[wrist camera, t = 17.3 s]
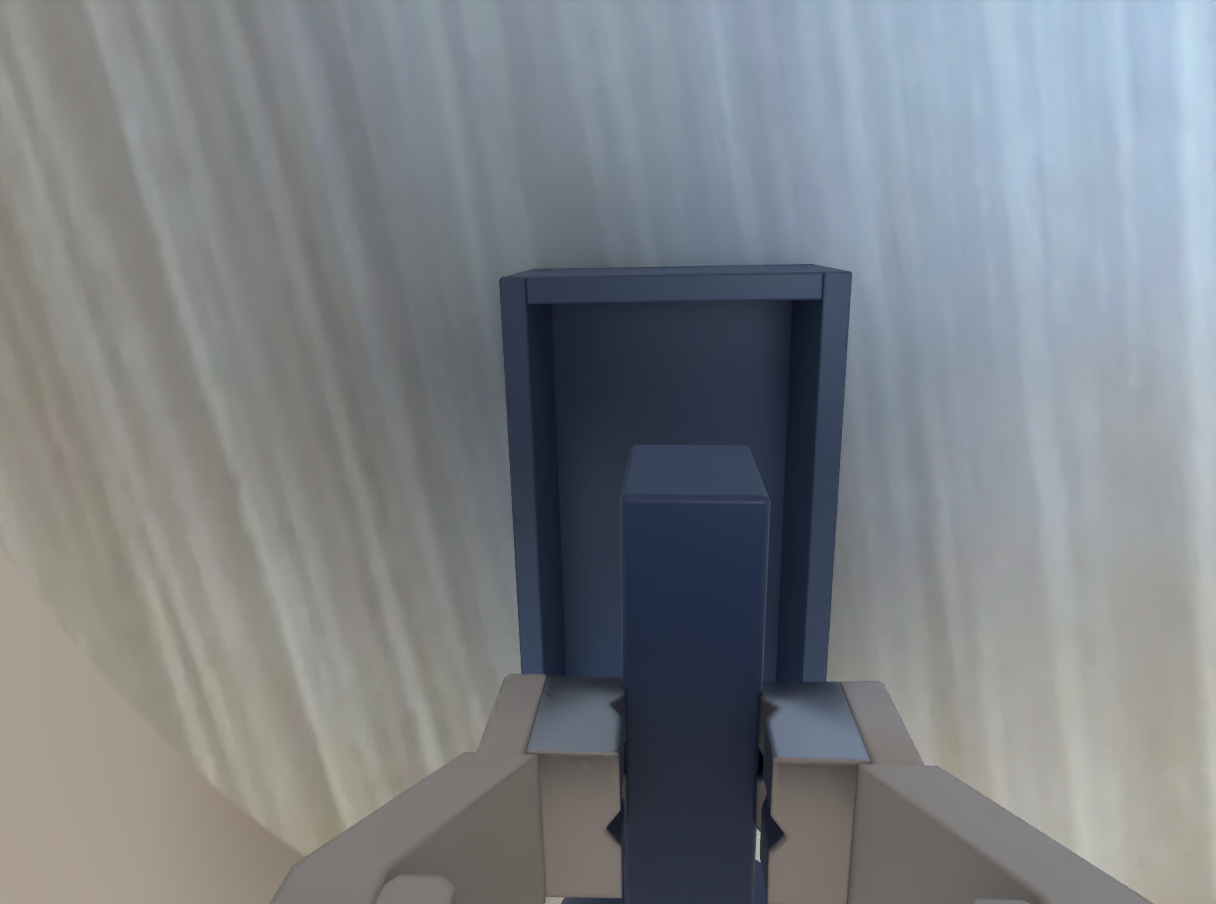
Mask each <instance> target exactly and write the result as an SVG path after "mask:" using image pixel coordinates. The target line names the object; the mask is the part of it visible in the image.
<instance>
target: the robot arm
mask: <svg viewBox="0 0 1216 904" xmlns="http://www.w3.org/2000/svg"><path fill="white" fill-rule="evenodd" d="M625 744H626V700H625V689H623V687H622V678H615V677H591V676H568V675H549V676H547V675H546V674H509V675H507V676H506V677H505V678H504V680H503V683H502V685H501V688H500V691H499V693H498V696H497V699H496V701H495V704H494V707H493V709H492V712H491V715H490V717H489V720H488V722H487V725H486V728H485V730H484V733H483V736H482V738H481V741H480V744H479V746H478V749H477V752H464V753H462V754H461V755H459V756H458V757H456V758H455V759H453V760H452V761H450V762H449V763H447V764H446V765H444V766H443V767H441V768H440V769H438V770H437V771H435V772H434V773H432V774H431V775H429V776H428V777H426V778H425V779H423V780H422V781H420V782H418V783H417V784H415V785H414V786H412V787H411V788H409V789H408V790H406V791H405V792H403V793H402V794H400V795H399V796H397V797H396V798H394V799H393V800H391V801H390V802H388V803H387V804H385V805H384V806H382V807H381V808H379V809H378V810H376V811H375V812H373V813H371V814H370V815H368V816H367V817H365V818H364V819H362V820H361V821H359V822H358V823H356V824H355V825H353V826H352V827H350V828H349V829H347V830H346V831H344V832H343V833H341V834H340V835H338V836H337V837H335V838H334V839H332V840H331V841H329V842H328V843H326V844H324V845H323V846H321V847H320V848H318V849H317V850H315V851H314V852H312V853H311V854H309V855H308V856H306V857H305V858H303V859H302V860H300V861H299V862H297V863H296V864H294V865H293V866H292V867H291V869H290V871H289V872H288V874H287V876H286V877H285V879H284V881H283V882H282V884H281V886H280V887H279V889H278V890H277V892H276V894H275V896H274V897H273V899H272V900H271V902H270V904H544V903H545V902H546V900H545V897H584V898H622V886H623V873H624V859H625V824H626V823H627V771H626V770H625V768H624V746H625ZM757 744H758V747H759V749H760V759H759V770H758V774H757V775H756V798H755V827H756V828H757V829H758V830H759V831H760V832H761V839H760V860H761V866H762V872H763V878H764V884H765V891H766V897H767V903H768V904H1153V903H1152V902H1150V901H1149V900H1147V899H1146V898H1144V897H1142V896H1141V895H1139V894H1138V893H1136V892H1135V891H1133V890H1131V889H1130V888H1128V887H1127V886H1125V885H1124V884H1122V883H1120V882H1119V881H1117V880H1116V879H1114V878H1113V877H1111V876H1109V875H1108V874H1106V873H1105V872H1103V871H1102V870H1100V869H1099V868H1097V867H1095V866H1094V865H1092V864H1091V863H1089V862H1088V861H1086V860H1084V859H1083V858H1081V857H1080V856H1078V855H1077V854H1075V853H1073V852H1072V851H1070V850H1069V849H1067V848H1066V847H1064V846H1062V845H1061V844H1059V843H1058V842H1056V841H1055V840H1053V839H1051V838H1050V837H1048V836H1047V835H1045V834H1044V833H1042V832H1040V831H1039V830H1037V829H1036V828H1034V827H1033V826H1031V825H1030V824H1028V823H1026V822H1025V821H1023V820H1022V819H1020V818H1019V817H1017V816H1015V815H1014V814H1012V813H1011V812H1009V811H1008V810H1006V809H1004V808H1003V807H1001V806H1000V805H998V804H997V803H995V802H993V801H992V800H990V799H989V798H987V797H986V796H984V795H982V794H981V793H979V792H978V791H976V790H975V789H973V788H972V787H970V786H968V785H967V784H965V783H964V782H962V781H961V780H959V779H957V778H956V777H954V776H953V775H951V774H950V773H948V772H946V771H945V770H943V769H942V768H940V767H939V766H925V765H924V763H923V761H922V759H921V757H920V755H919V753H918V751H917V749H916V747H915V745H914V743H913V741H912V739H911V737H910V735H909V733H908V731H907V729H906V727H905V725H904V723H903V721H902V719H901V717H900V715H899V713H898V711H897V709H896V707H895V705H894V703H893V701H892V699H891V697H890V695H889V693H888V691H887V689H886V687H885V685H884V684H882V683H881V682H879V681H849V682H763V688H762V691H761V693H759V715H758V737H757Z"/></svg>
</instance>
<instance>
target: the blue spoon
mask: <svg viewBox="0 0 1216 904" xmlns="http://www.w3.org/2000/svg"><path fill="white" fill-rule="evenodd" d="M769 523H770V500H769V497H768V495H767V492H766V489H765V487H764V484H763V482H762V479H761V477H760V474H759V472H758V469H757V466H756V464H755V461H754V459H753V456H752V454H751V451H750V449H749V447H748V446H745V445H633V446H631V447H630V449H629V453H628V458H627V463H626V469H625V474H624V480H623V485H622V490H621V496H620V573H621V656H622V687H623V689H625V700H626V744H625V746H624V768H625V770H626V771H627V823H626V824H625V859H624V873H623V886H622V898H584V897H565V898H564V899H563V901H562V903H561V904H768V903H767V897H766V891H765V884H764V878H763V872H762V866H761V863H760V862H759V861H757V860H755V853H756V829H757V828H756V827H755V798H756V775H757V774H758V770H759V759H760V749H759V747H758V744H757V737H758V715H759V693H761V691H762V688H763V664H764V641H765V617H766V594H767V570H768V547H769Z"/></svg>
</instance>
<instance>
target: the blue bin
mask: <svg viewBox="0 0 1216 904" xmlns="http://www.w3.org/2000/svg"><path fill="white" fill-rule="evenodd" d="M851 280H852V273H851V272H850V271H846V270H840V269H835V268H830V267H824V266H819V265H813V264H791V265H735V266H679V267H623V268H568V269H532V270H529V271H525V272H521V273H517V274H513V275H509V276H505V277H502V278H500V280H499V283H500V301H501V319H502V337H503V354H504V372H505V390H506V407H507V425H508V443H509V460H510V478H511V496H512V513H513V531H514V549H515V567H516V584H517V602H518V620H519V637H520V655H521V673H522V674H546V675H547V676H549V675H568V676H591V677H615V678H622V656H621V573H620V496H621V490H622V485H623V480H624V474H625V469H626V463H627V458H628V453H629V449H630V447H631V446H633V445H745V446H748V447H749V449H750V451H751V454H752V456H753V459H754V461H755V464H756V466H757V469H758V472H759V474H760V477H761V479H762V482H763V484H764V487H765V489H766V492H767V495H768V497H769V500H770V523H769V547H768V570H767V594H766V617H765V641H764V664H763V682H826V675H827V659H828V643H829V627H830V611H831V596H832V580H833V564H834V548H835V532H836V517H837V501H838V485H839V469H840V454H841V438H842V422H843V406H844V390H845V375H846V359H847V343H848V327H849V311H850V296H851Z"/></svg>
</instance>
